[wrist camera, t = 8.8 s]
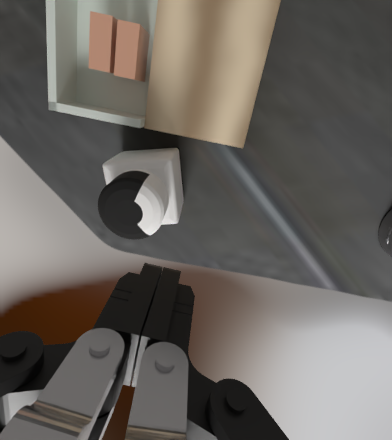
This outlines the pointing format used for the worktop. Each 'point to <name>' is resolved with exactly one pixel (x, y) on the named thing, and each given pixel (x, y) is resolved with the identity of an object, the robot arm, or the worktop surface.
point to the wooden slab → (208, 67)
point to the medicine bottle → (141, 192)
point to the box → (79, 62)
